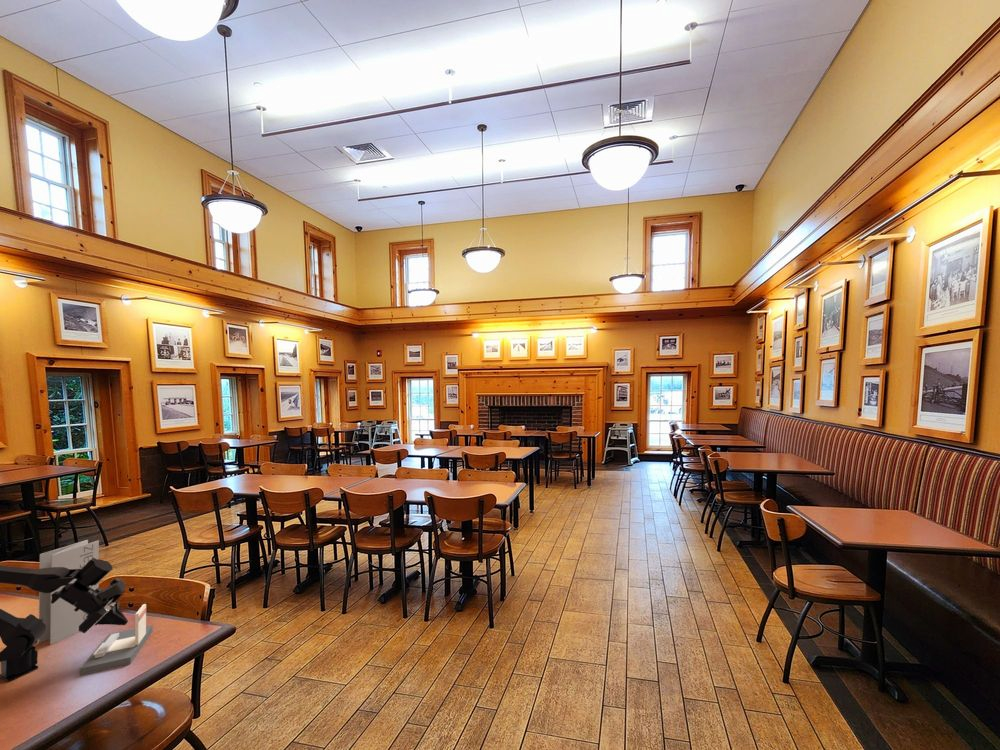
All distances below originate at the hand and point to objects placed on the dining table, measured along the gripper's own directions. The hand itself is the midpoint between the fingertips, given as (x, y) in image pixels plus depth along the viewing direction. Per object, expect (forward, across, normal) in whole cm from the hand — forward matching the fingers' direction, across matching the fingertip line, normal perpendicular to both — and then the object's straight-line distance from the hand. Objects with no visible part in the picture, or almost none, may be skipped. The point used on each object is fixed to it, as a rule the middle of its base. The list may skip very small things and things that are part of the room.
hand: (126, 623), depth 139 cm
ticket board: (+5, 0, +7) cm, 9 cm away
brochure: (-10, +23, +22) cm, 33 cm away
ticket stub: (+8, 0, +2) cm, 8 cm away
